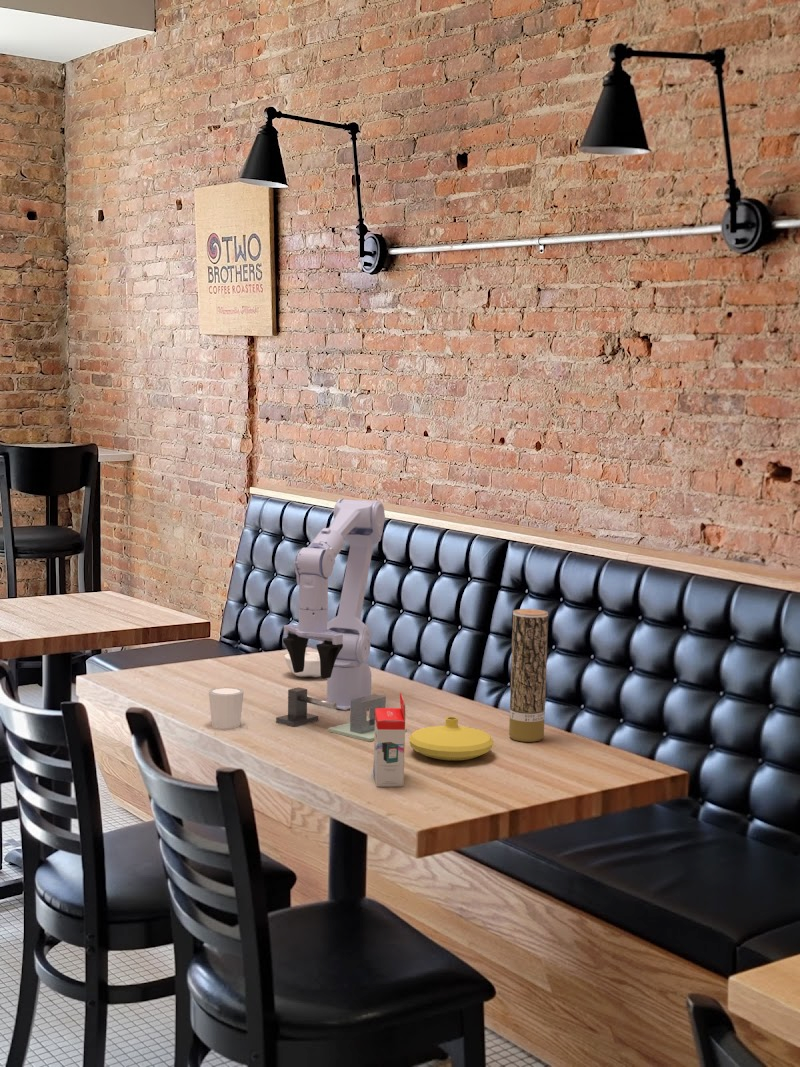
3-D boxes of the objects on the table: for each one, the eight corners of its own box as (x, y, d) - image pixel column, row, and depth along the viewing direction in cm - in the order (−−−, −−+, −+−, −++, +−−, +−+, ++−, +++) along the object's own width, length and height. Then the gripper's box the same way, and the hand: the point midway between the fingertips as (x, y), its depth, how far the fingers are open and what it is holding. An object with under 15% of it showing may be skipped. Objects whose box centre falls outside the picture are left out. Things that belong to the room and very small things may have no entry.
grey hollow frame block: (373, 724, 266) (374, 694, 266) (385, 727, 264) (385, 696, 264) (350, 731, 261) (350, 700, 260) (361, 734, 259) (362, 702, 258)
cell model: (320, 684, 304) (321, 654, 303) (275, 678, 309) (275, 649, 308) (341, 675, 313) (342, 647, 312) (296, 670, 318) (297, 642, 317)
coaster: (365, 721, 271) (365, 718, 271) (406, 731, 264) (407, 728, 264) (328, 731, 263) (328, 728, 263) (369, 741, 256) (370, 738, 256)
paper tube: (547, 736, 263) (551, 610, 260) (539, 744, 257) (543, 616, 254) (513, 732, 265) (517, 607, 262) (505, 740, 259) (509, 613, 256)
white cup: (237, 730, 262) (237, 695, 261) (203, 728, 263) (203, 693, 262) (247, 722, 269) (248, 688, 268) (215, 719, 270) (215, 685, 269)
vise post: (300, 716, 274) (301, 684, 273) (346, 727, 266) (346, 695, 265) (276, 722, 269) (276, 690, 268) (321, 734, 261) (322, 701, 260)
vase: (478, 771, 238) (480, 733, 238) (396, 761, 244) (396, 723, 243) (503, 749, 253) (504, 713, 252) (424, 740, 258) (425, 704, 258)
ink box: (372, 772, 236) (374, 691, 234) (400, 772, 236) (402, 691, 235) (375, 787, 228) (377, 703, 226) (404, 787, 228) (406, 703, 226)
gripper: (273, 605, 268) (272, 672, 269) (325, 614, 258) (324, 683, 260) (298, 601, 273) (297, 667, 275) (350, 610, 264) (349, 678, 265)
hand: (312, 675), depth 268 cm, fingers open, 7 cm apart
